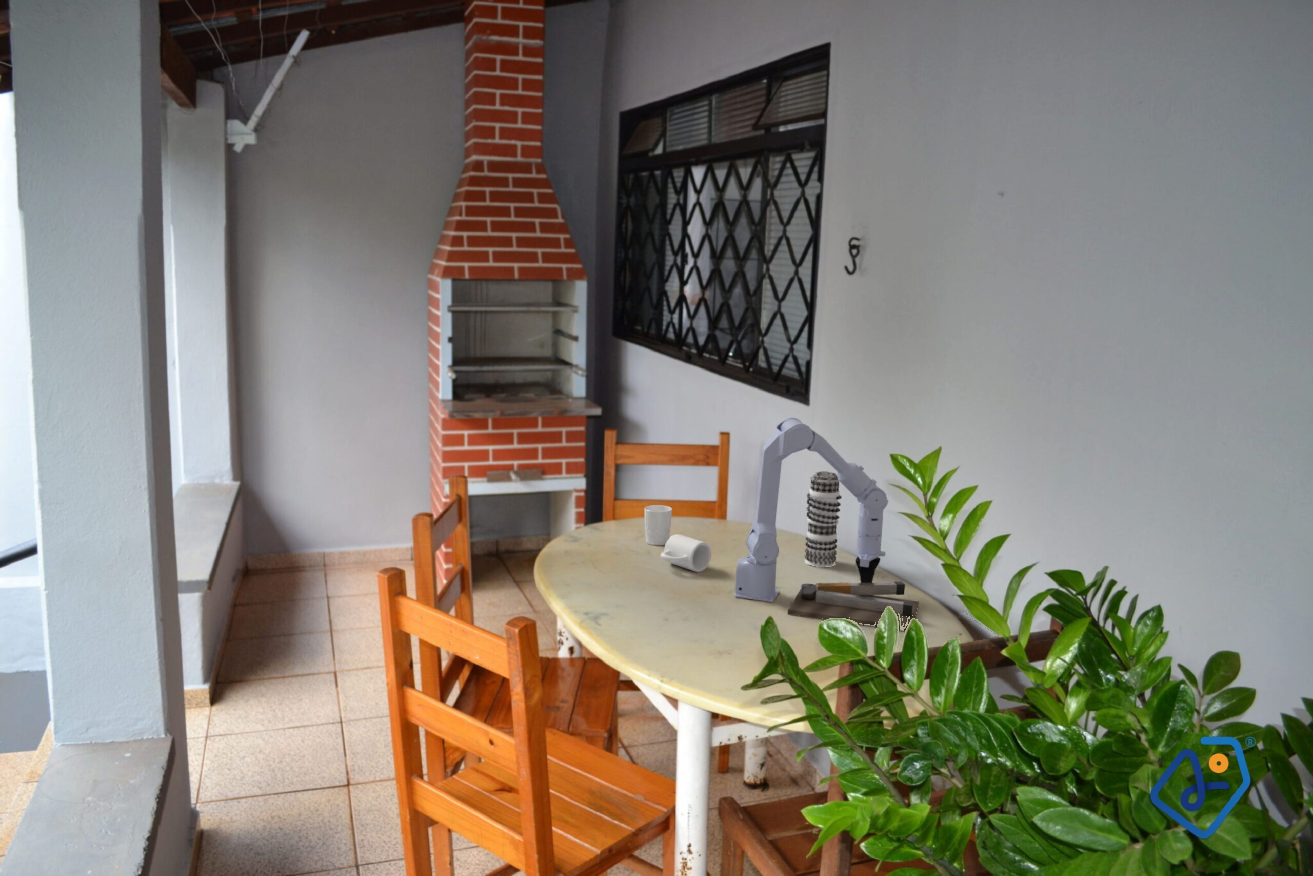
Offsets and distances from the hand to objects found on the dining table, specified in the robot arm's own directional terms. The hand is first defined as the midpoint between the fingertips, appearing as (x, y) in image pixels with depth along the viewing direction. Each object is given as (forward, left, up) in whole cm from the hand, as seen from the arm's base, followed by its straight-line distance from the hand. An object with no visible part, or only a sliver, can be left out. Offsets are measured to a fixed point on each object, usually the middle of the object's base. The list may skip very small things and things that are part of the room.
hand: (866, 586), depth 241 cm
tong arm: (-2, -7, -1) cm, 7 cm away
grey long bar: (+1, -13, -1) cm, 14 cm away
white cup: (-62, +21, -2) cm, 65 cm away
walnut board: (-1, -12, -2) cm, 13 cm away
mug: (-48, +1, -2) cm, 48 cm away
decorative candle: (-15, +21, -2) cm, 26 cm away
